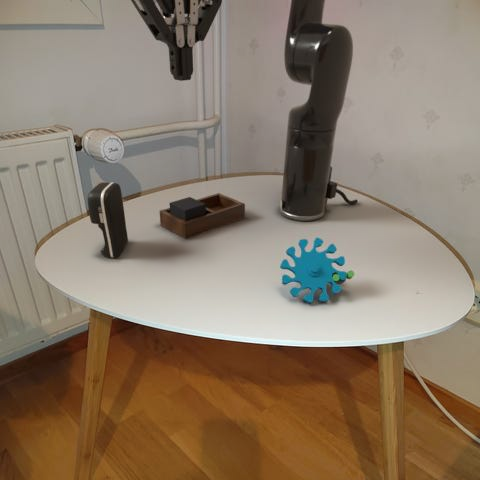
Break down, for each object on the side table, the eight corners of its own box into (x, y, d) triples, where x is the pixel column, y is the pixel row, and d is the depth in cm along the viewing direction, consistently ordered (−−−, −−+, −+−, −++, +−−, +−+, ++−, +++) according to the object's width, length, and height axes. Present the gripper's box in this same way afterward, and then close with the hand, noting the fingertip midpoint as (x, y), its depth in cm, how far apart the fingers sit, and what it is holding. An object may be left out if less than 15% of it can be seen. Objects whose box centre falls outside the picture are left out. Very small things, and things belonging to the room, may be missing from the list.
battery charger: (109, 240, 77) (98, 178, 70) (129, 241, 77) (120, 179, 70) (95, 258, 72) (81, 192, 65) (116, 259, 71) (105, 194, 65)
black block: (190, 215, 85) (189, 196, 83) (206, 223, 82) (206, 203, 80) (170, 222, 82) (169, 202, 80) (186, 230, 80) (185, 210, 77)
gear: (275, 294, 61) (287, 229, 62) (271, 301, 67) (282, 242, 68) (349, 309, 61) (360, 244, 62) (338, 315, 67) (348, 256, 68)
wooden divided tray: (160, 225, 83) (159, 210, 81) (219, 206, 92) (218, 192, 90) (185, 239, 78) (184, 223, 77) (244, 218, 87) (245, 203, 85)
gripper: (141, -114, 41) (157, 87, 51) (239, -93, 48) (236, 79, 59) (102, -104, 45) (125, 80, 55) (198, -86, 53) (202, 73, 63)
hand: (182, 79), depth 57 cm, fingers closed
